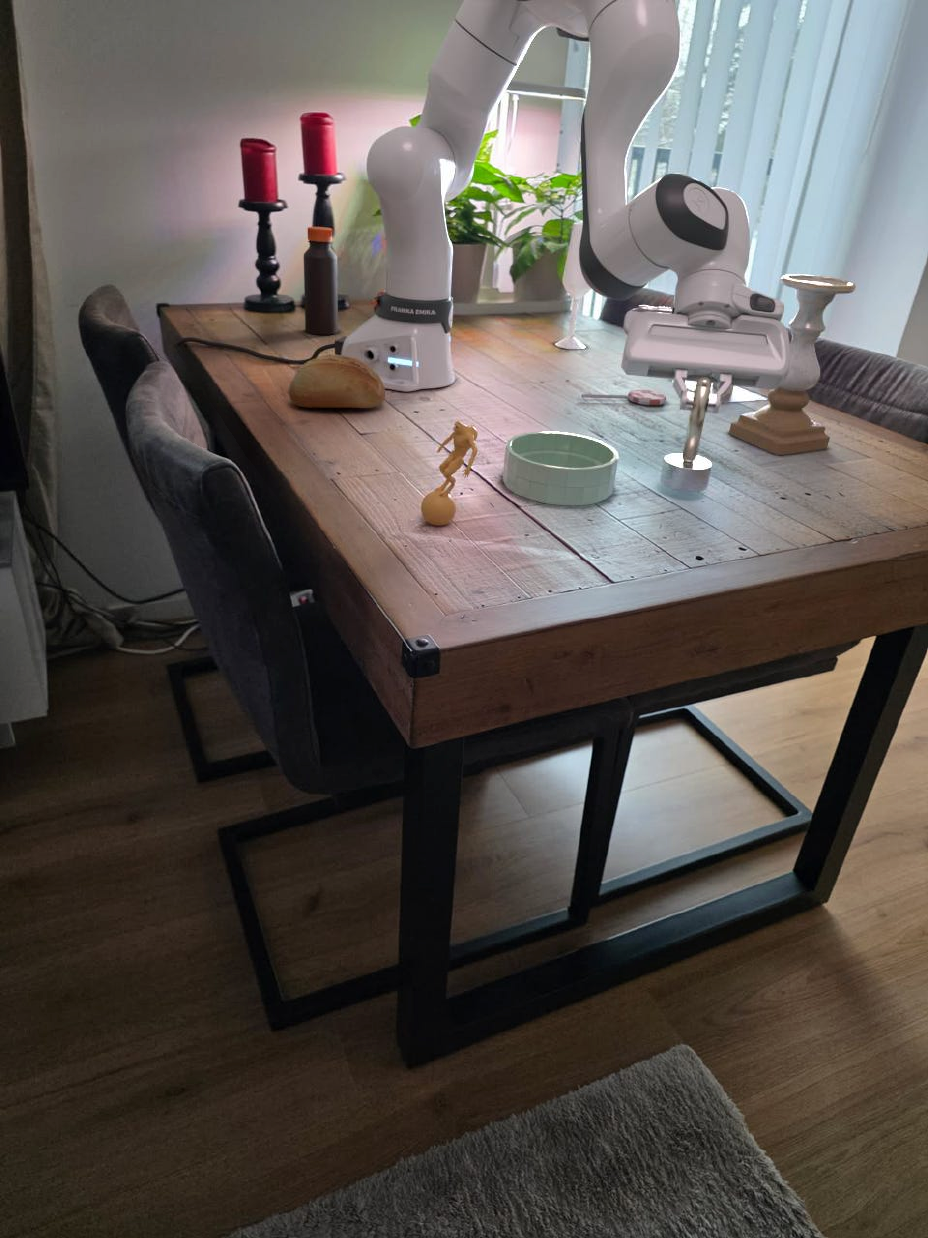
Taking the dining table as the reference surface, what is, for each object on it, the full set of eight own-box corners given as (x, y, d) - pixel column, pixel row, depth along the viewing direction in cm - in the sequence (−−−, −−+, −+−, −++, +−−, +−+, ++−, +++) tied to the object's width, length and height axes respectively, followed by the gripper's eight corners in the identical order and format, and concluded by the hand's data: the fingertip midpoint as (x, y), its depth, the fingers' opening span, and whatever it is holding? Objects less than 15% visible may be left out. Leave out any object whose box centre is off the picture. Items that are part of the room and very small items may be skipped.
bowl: (496, 500, 105) (500, 461, 103) (508, 462, 118) (512, 426, 115) (611, 513, 104) (618, 475, 102) (612, 473, 116) (617, 438, 114)
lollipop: (577, 387, 150) (658, 389, 152) (576, 393, 150) (657, 395, 153) (587, 398, 144) (671, 400, 146) (586, 404, 145) (670, 406, 147)
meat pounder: (661, 488, 108) (681, 381, 101) (659, 472, 113) (678, 369, 106) (709, 494, 107) (733, 386, 100) (705, 477, 112) (727, 373, 106)
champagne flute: (590, 345, 185) (607, 224, 173) (577, 350, 180) (593, 226, 168) (563, 340, 188) (577, 221, 176) (549, 345, 183) (563, 222, 171)
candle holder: (777, 455, 128) (821, 287, 116) (726, 433, 136) (763, 273, 124) (828, 448, 132) (876, 286, 121) (776, 427, 141) (816, 273, 129)
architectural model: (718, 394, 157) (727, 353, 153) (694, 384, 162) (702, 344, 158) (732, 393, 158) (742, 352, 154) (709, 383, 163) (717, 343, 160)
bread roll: (386, 418, 131) (387, 365, 127) (287, 415, 129) (285, 362, 125) (383, 400, 139) (384, 350, 135) (290, 397, 137) (288, 346, 133)
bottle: (335, 336, 177) (334, 231, 167) (302, 334, 177) (299, 228, 167) (340, 329, 183) (339, 227, 173) (308, 327, 183) (305, 225, 172)
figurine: (409, 511, 100) (413, 411, 94) (456, 507, 103) (463, 408, 97) (434, 541, 94) (440, 435, 88) (484, 535, 96) (493, 431, 90)
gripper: (629, 288, 106) (617, 387, 103) (797, 303, 104) (791, 404, 101) (623, 319, 112) (611, 413, 109) (782, 334, 110) (775, 430, 107)
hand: (699, 409), depth 105 cm, fingers closed on meat pounder
